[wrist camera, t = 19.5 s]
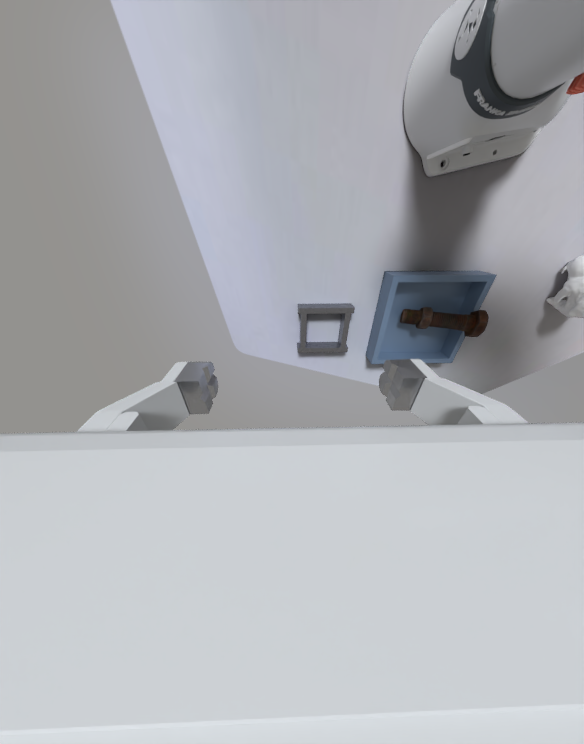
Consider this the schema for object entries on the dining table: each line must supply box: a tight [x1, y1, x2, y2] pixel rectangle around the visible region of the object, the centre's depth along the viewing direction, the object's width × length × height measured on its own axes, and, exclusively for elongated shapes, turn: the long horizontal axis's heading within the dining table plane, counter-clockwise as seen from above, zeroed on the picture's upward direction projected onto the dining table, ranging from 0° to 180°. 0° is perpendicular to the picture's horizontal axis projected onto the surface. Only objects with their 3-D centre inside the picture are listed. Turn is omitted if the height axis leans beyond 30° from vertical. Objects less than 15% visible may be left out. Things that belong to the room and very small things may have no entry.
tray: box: [366, 271, 496, 364], centre depth 48 cm, size 20×20×4 cm
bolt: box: [400, 307, 488, 337], centre depth 45 cm, size 6×5×15 cm
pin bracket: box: [297, 304, 355, 353], centre depth 49 cm, size 12×11×3 cm
